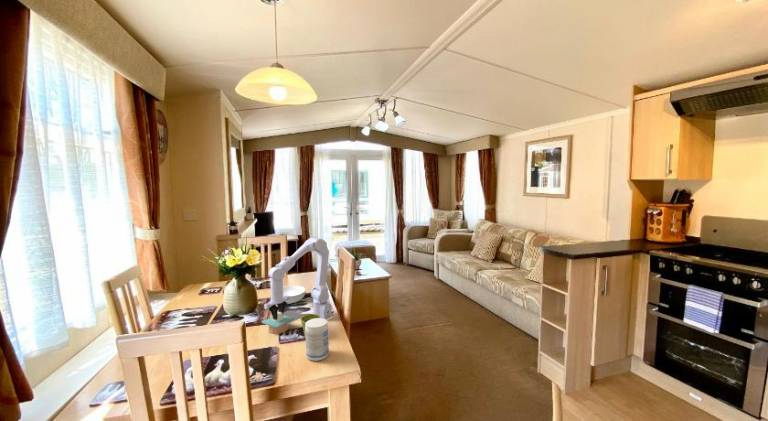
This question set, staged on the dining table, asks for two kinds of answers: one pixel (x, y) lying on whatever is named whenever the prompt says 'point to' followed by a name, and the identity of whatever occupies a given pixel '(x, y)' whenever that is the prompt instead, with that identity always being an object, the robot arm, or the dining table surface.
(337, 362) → the dining table surface
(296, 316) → the mat
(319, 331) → the supplement tub
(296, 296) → the serving bowl
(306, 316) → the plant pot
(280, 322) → the cover sheet
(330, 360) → the dining table surface
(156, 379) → the dining table surface
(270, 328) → the bowl
